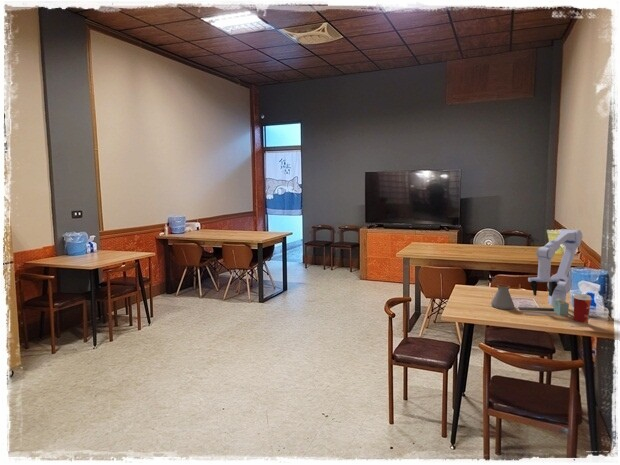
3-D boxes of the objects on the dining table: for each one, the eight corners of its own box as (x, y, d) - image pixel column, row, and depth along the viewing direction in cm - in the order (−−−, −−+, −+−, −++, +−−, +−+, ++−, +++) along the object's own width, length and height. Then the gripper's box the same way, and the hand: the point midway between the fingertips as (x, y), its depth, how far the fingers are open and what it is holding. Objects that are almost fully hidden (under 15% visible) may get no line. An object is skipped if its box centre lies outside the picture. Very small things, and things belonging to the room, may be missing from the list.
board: (518, 311, 228) (518, 306, 227) (564, 313, 225) (564, 308, 224) (525, 318, 217) (526, 312, 216) (574, 320, 214) (574, 314, 213)
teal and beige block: (553, 311, 224) (554, 298, 223) (561, 311, 223) (562, 298, 222) (559, 315, 217) (560, 302, 216) (568, 315, 216) (568, 302, 215)
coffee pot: (517, 312, 226) (519, 284, 224) (495, 312, 227) (497, 284, 225) (501, 301, 247) (502, 276, 246) (481, 301, 248) (482, 276, 246)
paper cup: (591, 326, 204) (593, 298, 202) (573, 324, 206) (575, 296, 205) (587, 321, 211) (589, 294, 209) (569, 320, 214) (571, 292, 212)
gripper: (532, 271, 220) (530, 296, 222) (562, 271, 218) (560, 297, 220) (527, 268, 227) (525, 293, 228) (556, 269, 225) (554, 294, 227)
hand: (542, 295), depth 224 cm, fingers open, 7 cm apart
